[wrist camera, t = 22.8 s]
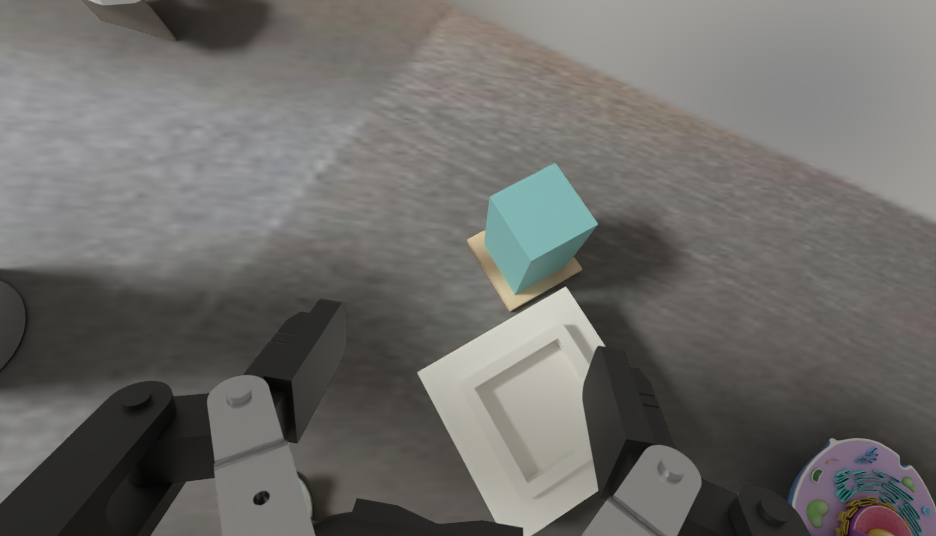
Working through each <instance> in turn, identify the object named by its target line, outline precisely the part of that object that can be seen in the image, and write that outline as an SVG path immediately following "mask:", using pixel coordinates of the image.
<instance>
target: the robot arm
mask: <svg viewBox="0 0 936 536" xmlns="http://www.w3.org/2000/svg"><path fill="white" fill-rule="evenodd" d="M25 322H26V320H25V308H24V305H23V301H22V299H21V297H20V296H19V294H18V293H17V291H16V290H15V289H13V288H12V287H11V286H10V285H9V284H7V283H5V282H2V281H0V369H1V368H2V367H3V366H4V365H5V364H6V363H7V362H8V360H9V359H10V358H11V357H12V355H13V354H14V352H15V350H16V349H17V347H18V345H19V343H20V340H21V338H22V335H23V332H24V327H25ZM345 348H346V305H345V303H343V302H337V301H331V300H325V299H320V300H319V301H318V302H317V304H316V305H315V306H314V308H313V309H312V310H311V312H310V313H306V312H300V313H298V314H296V315H295V316H293V317H291V318H290V319H288V320H286V322H285V323H284V324H283V325H282V327H281V328H280V329H279V331H278V333H276V334H275V336H274V337H273V338H272V339H271V342H270V343H268V344H267V346H266V347H265V348H264V349H263V351H262V352H261V353H260V354H259V356H258V357H257V358H256V359H255V361H254V362H253V363H252V364H251V366H250V367H249V368H248V369H247V371H246V372H245V373H244V374H243V375H241V376H236V377H232V378H229V379H227V380H225V381H223V382H221V383H220V384H218V385H217V386H216V387H215V388H214V389H213V390H212V391H211V392H210V393H207V394H198V395H186V396H173V393H172V390H171V388H170V387H169V386H168V385H167V384H165V383H162V382H158V381H145V382H139V383H135V384H132V385H129V386H127V387H125V388H122V389H121V390H119V391H117V392H116V393H114V394H113V395H111V396H110V397H109V398H108V399H107V400H106V401H105V402H104V403H103V404H102V405H101V406H100V407H99V408H98V409H97V410H96V411H95V412H94V413H93V414H92V415H91V416H90V417H89V418H87V419H86V420H85V421H84V422H83V423H82V424H81V425H80V426H79V427H78V428H77V429H76V430H75V431H74V432H73V433H72V434H71V435H70V436H69V437H68V438H67V439H66V440H65V441H64V442H63V443H62V444H61V445H60V446H59V447H58V448H57V449H56V450H55V451H54V452H53V453H52V454H51V455H50V456H49V457H48V458H47V459H46V460H45V461H44V462H43V463H41V464H40V465H39V466H38V467H37V468H36V469H35V470H34V471H33V472H32V473H31V474H30V475H29V476H28V477H27V478H26V479H25V480H24V481H23V482H22V483H21V484H20V485H19V486H18V487H17V488H16V489H15V490H14V491H13V492H12V493H11V494H10V495H9V496H8V497H7V498H6V499H5V500H4V501H3V502H2V503H1V504H0V536H150V535H151V534H152V532H153V531H154V529H155V528H156V526H157V525H158V523H159V522H160V520H161V519H162V517H163V516H164V514H165V513H166V511H167V510H168V508H169V507H170V505H171V504H172V502H173V501H174V499H175V498H176V496H177V495H178V493H179V492H180V490H181V489H182V487H183V486H184V484H185V483H186V481H194V480H202V479H209V478H215V482H216V490H217V498H218V505H219V513H220V521H221V529H222V536H523V527H517V526H511V525H506V524H500V523H494V522H489V521H483V520H481V521H469V522H458V523H447V524H437V523H434V522H432V521H430V520H428V519H425V518H423V517H421V516H419V515H417V514H415V513H413V512H410V511H408V510H406V509H404V508H402V507H400V506H398V505H392V504H386V503H381V502H375V501H369V500H364V499H358V498H357V499H356V502H355V505H354V508H353V511H352V512H347V513H342V514H337V515H333V516H330V517H327V518H325V519H322V520H320V521H318V522H316V523H314V524H312V522H311V519H310V516H309V512H308V509H307V505H306V502H305V499H304V495H303V492H302V488H301V485H300V482H299V478H298V475H297V472H296V468H295V465H294V461H293V458H292V455H291V451H290V448H289V445H288V442H291V443H298V442H299V440H300V438H301V436H302V434H303V432H304V430H305V428H306V427H307V425H308V423H309V421H310V419H311V417H312V415H313V413H314V411H315V410H316V408H317V406H318V404H319V402H320V400H321V398H322V396H323V395H324V393H325V391H326V389H327V387H328V385H329V383H330V381H331V380H332V378H333V376H334V374H335V372H336V370H337V368H338V366H339V365H340V363H341V361H342V359H343V356H344V353H345ZM582 402H583V407H584V413H585V419H586V424H587V430H588V435H589V441H590V446H591V452H592V457H593V463H594V469H595V474H596V480H597V485H598V491H599V496H600V498H606V499H607V500H606V502H605V503H604V505H603V506H602V507H601V509H600V510H599V512H598V513H597V515H596V516H595V517H594V519H593V520H592V522H591V523H590V524H589V526H588V527H587V529H586V530H585V532H584V533H583V534H582V536H811V535H810V533H809V531H808V529H807V527H806V525H805V523H804V522H803V520H802V518H801V516H800V515H799V514H798V512H797V511H796V510H795V509H794V508H793V506H792V505H791V504H790V503H788V502H787V501H786V500H785V499H784V498H782V497H781V496H780V495H778V494H776V493H775V492H773V491H771V490H769V489H767V488H764V487H761V486H756V485H748V486H745V487H743V488H742V489H741V490H740V491H739V493H738V494H735V493H733V492H730V491H728V490H726V489H724V488H721V487H719V486H717V485H714V484H712V483H710V482H708V481H706V480H704V479H702V478H701V476H700V474H699V471H698V470H697V468H696V467H695V465H694V464H693V463H692V462H691V461H690V459H688V458H687V457H686V456H685V455H683V454H682V453H681V452H679V451H677V450H676V449H675V446H674V443H673V441H672V438H671V435H670V433H669V430H668V428H667V425H666V422H665V420H664V417H663V415H662V412H661V409H659V404H658V402H657V399H656V398H655V394H654V391H653V389H652V386H651V383H650V381H649V380H648V379H647V378H646V377H645V376H644V374H643V373H642V372H641V371H640V370H639V369H638V368H632V367H630V366H629V363H628V360H627V357H626V354H625V352H624V350H622V349H617V348H611V347H604V346H598V347H597V348H596V350H595V352H594V355H593V358H592V361H591V364H590V366H589V369H588V372H587V375H586V378H585V381H584V384H583V391H582Z"/></svg>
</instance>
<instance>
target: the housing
mask: <svg viewBox="0 0 936 536" xmlns="http://www.w3.org/2000/svg"><path fill="white" fill-rule="evenodd" d="M598 346H604V347H606V346H605V345H604V343H603V342H602V340H601V339H600V337H599V336H598V334H597V333H596V331H595V330H594V328H593V327H592V325H591V324H590V322H589V321H588V319H587V318H586V316H585V315H584V313H583V312H582V310H581V308H580V307H579V305H578V304H577V302H576V301H575V299H574V298H573V296H572V295H571V293H570V292H569V290H568V289H567V287H564V288H562V289H561V290H559V291H557V292H555V293H554V294H552V295H550V296H549V297H547V298H545V299H543V300H542V301H540V302H538V303H536V304H535V305H533V306H531V307H529V308H528V309H526V310H524V311H523V312H521V313H519V314H517V315H516V316H514V317H512V318H510V319H509V320H507V321H505V322H504V323H502V324H500V325H498V326H497V327H495V328H493V329H491V330H490V331H488V332H486V333H484V334H483V335H481V336H479V337H478V338H476V339H474V340H472V341H471V342H469V343H467V344H465V345H464V346H462V347H460V348H459V349H457V350H455V351H453V352H452V353H450V354H448V355H446V356H445V357H443V358H441V359H439V360H438V361H436V362H434V363H433V364H431V365H429V366H427V367H426V368H424V369H422V370H420V371H419V372H417V373H418V375H419V377H420V379H421V381H422V383H423V385H424V387H425V389H426V390H427V392H428V394H429V396H430V398H431V400H432V402H433V404H434V406H435V408H436V409H437V411H438V413H439V415H440V417H441V419H442V421H443V423H444V425H445V426H446V428H447V430H448V432H449V434H450V436H451V438H452V440H453V442H454V444H455V445H456V447H457V449H458V451H459V453H460V455H461V457H462V459H463V461H464V463H465V464H466V466H467V468H468V470H469V472H470V474H471V476H472V478H473V480H474V482H475V483H476V485H477V487H478V489H479V491H480V493H481V495H482V497H483V499H484V501H485V502H486V504H487V506H488V508H489V510H490V512H491V514H492V516H493V518H494V520H495V521H496V523H500V524H506V525H511V526H517V527H523V536H532V535H533V534H535V533H536V532H538V531H539V530H541V529H542V528H544V527H545V526H547V525H548V524H550V523H551V522H553V521H554V520H556V519H557V518H559V517H560V516H561V515H563V514H564V513H566V512H567V511H569V510H570V509H572V508H573V507H575V506H576V505H578V504H579V503H581V502H582V501H584V500H585V499H587V498H588V497H590V496H591V495H593V494H594V493H596V492H597V491H598V485H597V480H596V474H595V469H594V463H593V457H592V452H591V446H590V441H589V435H588V430H587V424H586V419H585V413H584V407H583V402H582V391H583V384H584V381H585V378H586V375H587V372H588V369H589V366H590V364H591V361H592V358H593V355H594V352H595V350H596V348H597V347H598Z"/></svg>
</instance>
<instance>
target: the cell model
mask: <svg viewBox="0 0 936 536" xmlns="http://www.w3.org/2000/svg"><path fill="white" fill-rule="evenodd" d="M787 502H788V503H790V504H791V505H792V506H793V508H794V509H795V510H796V511H797V512H798V514H799V515H800V516H801V518H802V520H803V522H804V523H805V525H806V527H807V529H808V531H809V533H810V535H811V536H936V506H935V504H934V502H933V499H932V497H931V495H930V493H929V491H928V489H927V487H926V485H925V484H924V482H923V480H922V478H921V477H920V476H919V474H918V473H917V471H916V470H915V469H914V468H913V467H912V466H911V465H900V456H899V455H898V454H897V453H895V452H894V451H893V450H891V449H890V448H888V447H886V446H885V445H883V444H881V443H879V442H876V441H873V440H870V439H863V438H852V439H845V440H840V441H837V440H836V439H834V438H831V439H829V441H828V442H827V443H826V444H825V446H824V447H823V448H822V449H821V450H820V451H819V452H818V453H817V454H816V455H814V456H813V457H812V458H811V459H810V460H809V461H808V462H807V463H806V464H805V466H804V467H803V468H802V469H801V470H800V472H799V473H798V475H797V476H796V478H795V480H794V481H793V484H792V486H791V489H790V491H789V494H788V498H787Z"/></svg>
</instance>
